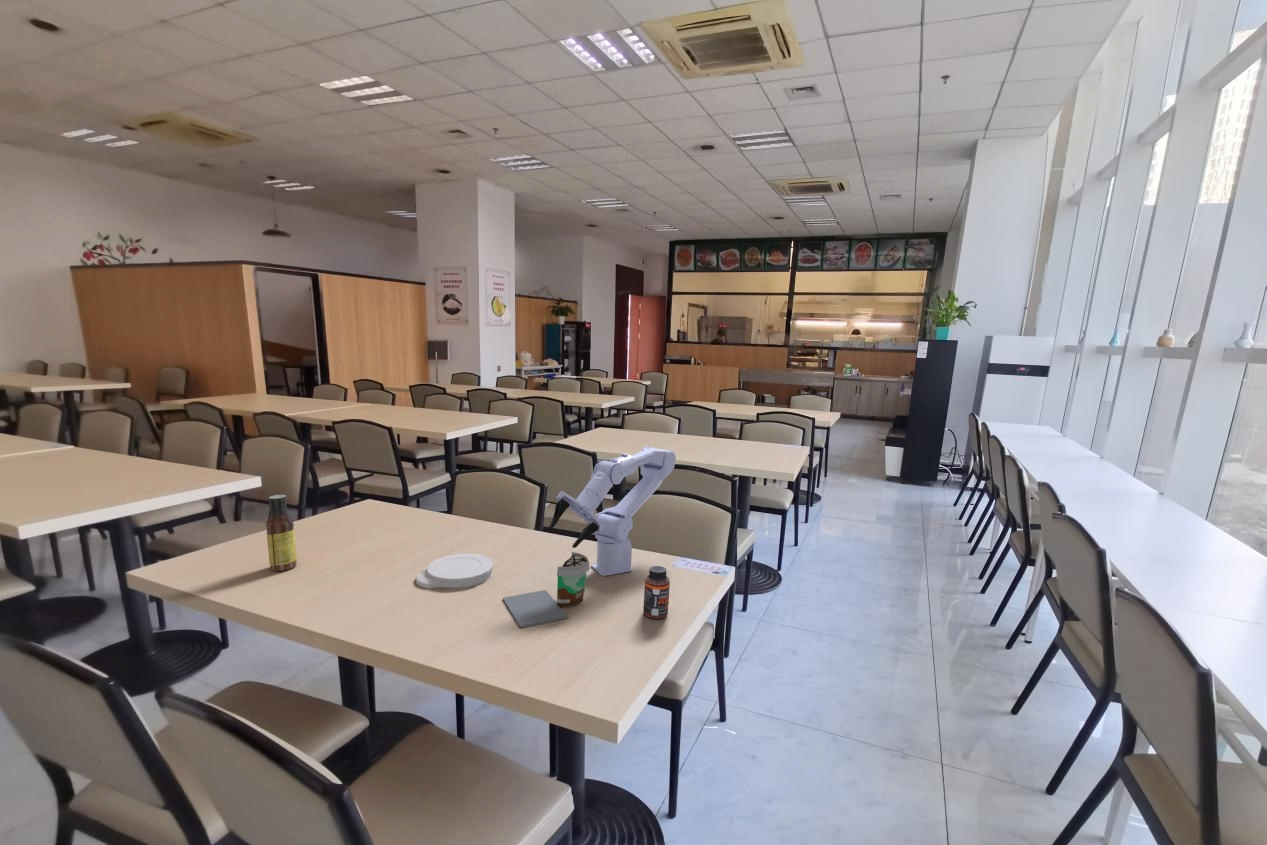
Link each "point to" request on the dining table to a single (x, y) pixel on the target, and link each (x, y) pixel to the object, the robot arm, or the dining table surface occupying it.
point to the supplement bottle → (656, 593)
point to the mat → (534, 608)
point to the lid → (456, 571)
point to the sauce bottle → (280, 535)
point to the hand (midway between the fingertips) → (562, 537)
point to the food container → (572, 580)
